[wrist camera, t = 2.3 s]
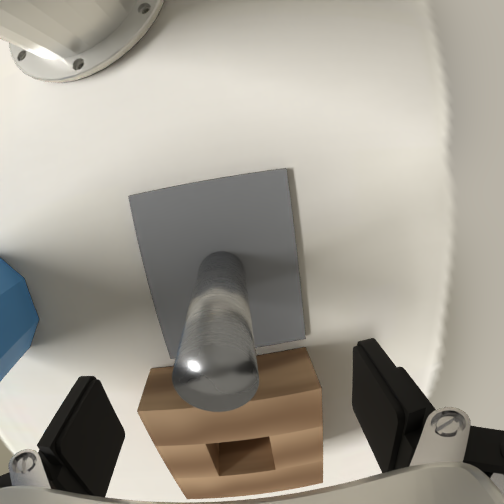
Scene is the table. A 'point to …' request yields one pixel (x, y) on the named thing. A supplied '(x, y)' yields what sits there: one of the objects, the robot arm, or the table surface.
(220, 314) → the peg
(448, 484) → the robot arm
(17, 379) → the table surface
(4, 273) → the water bottle
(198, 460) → the socket block
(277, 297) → the mat
